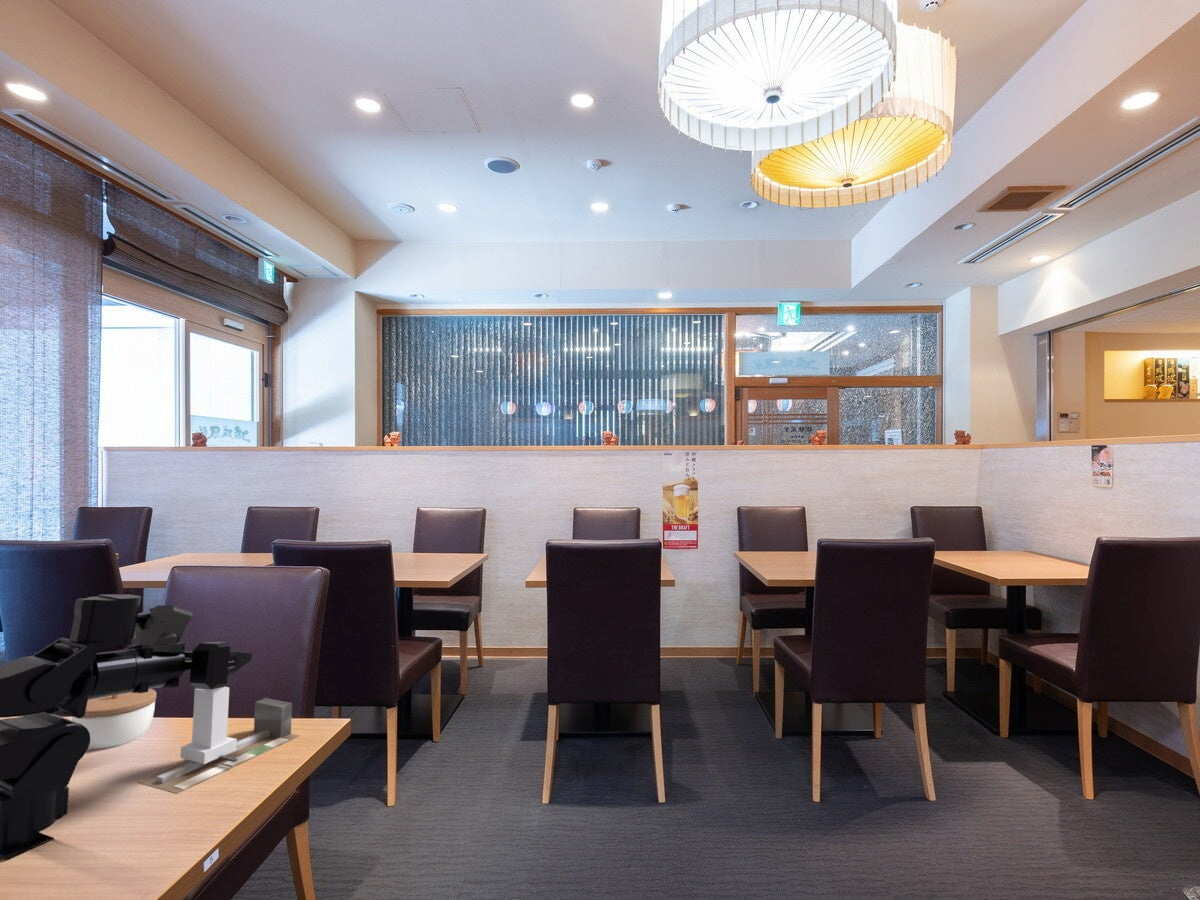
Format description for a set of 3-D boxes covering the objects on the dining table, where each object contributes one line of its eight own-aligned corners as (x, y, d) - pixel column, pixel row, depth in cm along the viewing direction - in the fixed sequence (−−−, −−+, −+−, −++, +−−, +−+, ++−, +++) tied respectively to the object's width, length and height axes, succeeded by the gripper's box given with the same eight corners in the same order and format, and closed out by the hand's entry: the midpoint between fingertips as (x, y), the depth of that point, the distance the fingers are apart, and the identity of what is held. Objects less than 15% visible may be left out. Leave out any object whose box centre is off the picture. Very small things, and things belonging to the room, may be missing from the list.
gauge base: (176, 805, 80) (178, 755, 80) (136, 793, 83) (139, 745, 83) (299, 745, 98) (301, 704, 99) (263, 737, 101) (265, 698, 102)
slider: (219, 769, 85) (222, 698, 85) (180, 759, 88) (184, 691, 88) (251, 754, 89) (254, 688, 90) (213, 745, 92) (216, 681, 93)
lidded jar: (141, 756, 94) (144, 695, 94) (55, 767, 90) (59, 703, 90) (162, 730, 104) (165, 675, 104) (86, 738, 100) (89, 681, 100)
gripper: (176, 610, 80) (277, 603, 94) (89, 610, 86) (196, 604, 101) (166, 699, 77) (271, 678, 92) (78, 692, 84) (189, 674, 98)
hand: (230, 655), depth 96 cm, fingers open, 9 cm apart
